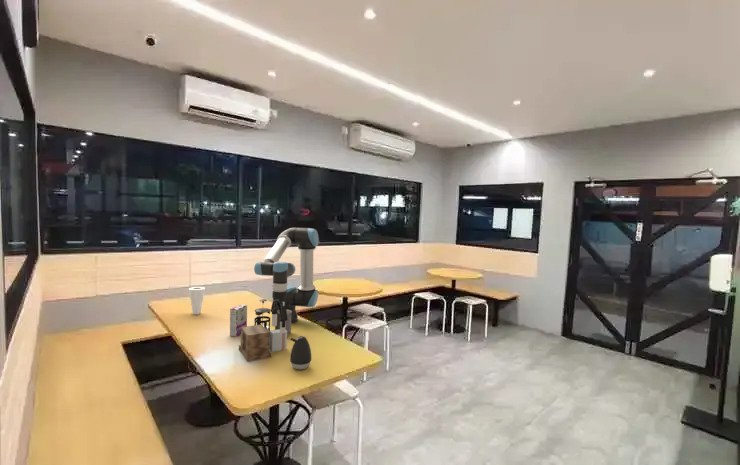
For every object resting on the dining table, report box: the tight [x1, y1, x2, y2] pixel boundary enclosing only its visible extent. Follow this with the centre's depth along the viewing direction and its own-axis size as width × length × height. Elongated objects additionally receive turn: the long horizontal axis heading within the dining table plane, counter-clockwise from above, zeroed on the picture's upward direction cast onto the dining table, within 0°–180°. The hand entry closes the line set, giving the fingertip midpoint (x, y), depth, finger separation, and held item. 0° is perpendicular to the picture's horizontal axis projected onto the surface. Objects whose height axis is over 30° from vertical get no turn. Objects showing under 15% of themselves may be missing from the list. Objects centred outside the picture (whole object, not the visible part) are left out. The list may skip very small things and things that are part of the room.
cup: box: [188, 286, 206, 315], centre depth 249 cm, size 11×11×18 cm
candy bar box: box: [229, 304, 248, 337], centre depth 213 cm, size 11×5×16 cm, turn 168°
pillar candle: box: [274, 309, 292, 336], centre depth 217 cm, size 10×10×15 cm
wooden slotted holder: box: [238, 324, 272, 362], centre depth 185 cm, size 13×18×12 cm
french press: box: [253, 298, 271, 332], centre depth 207 cm, size 12×9×23 cm
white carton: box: [270, 329, 288, 353], centre depth 192 cm, size 8×5×10 cm, turn 123°
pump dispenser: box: [289, 335, 312, 371], centre depth 170 cm, size 10×10×15 cm
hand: (278, 329), depth 191 cm, fingers open, 13 cm apart
